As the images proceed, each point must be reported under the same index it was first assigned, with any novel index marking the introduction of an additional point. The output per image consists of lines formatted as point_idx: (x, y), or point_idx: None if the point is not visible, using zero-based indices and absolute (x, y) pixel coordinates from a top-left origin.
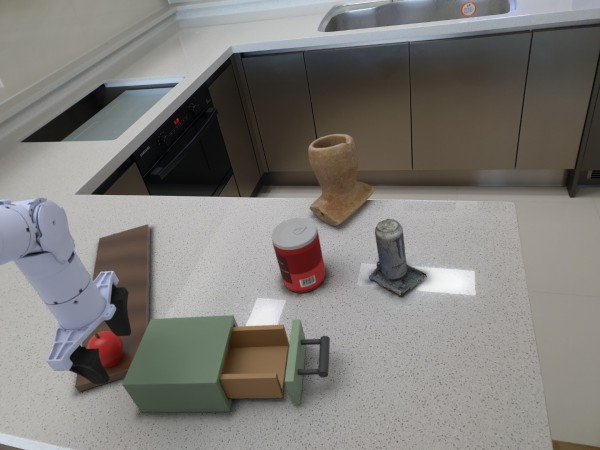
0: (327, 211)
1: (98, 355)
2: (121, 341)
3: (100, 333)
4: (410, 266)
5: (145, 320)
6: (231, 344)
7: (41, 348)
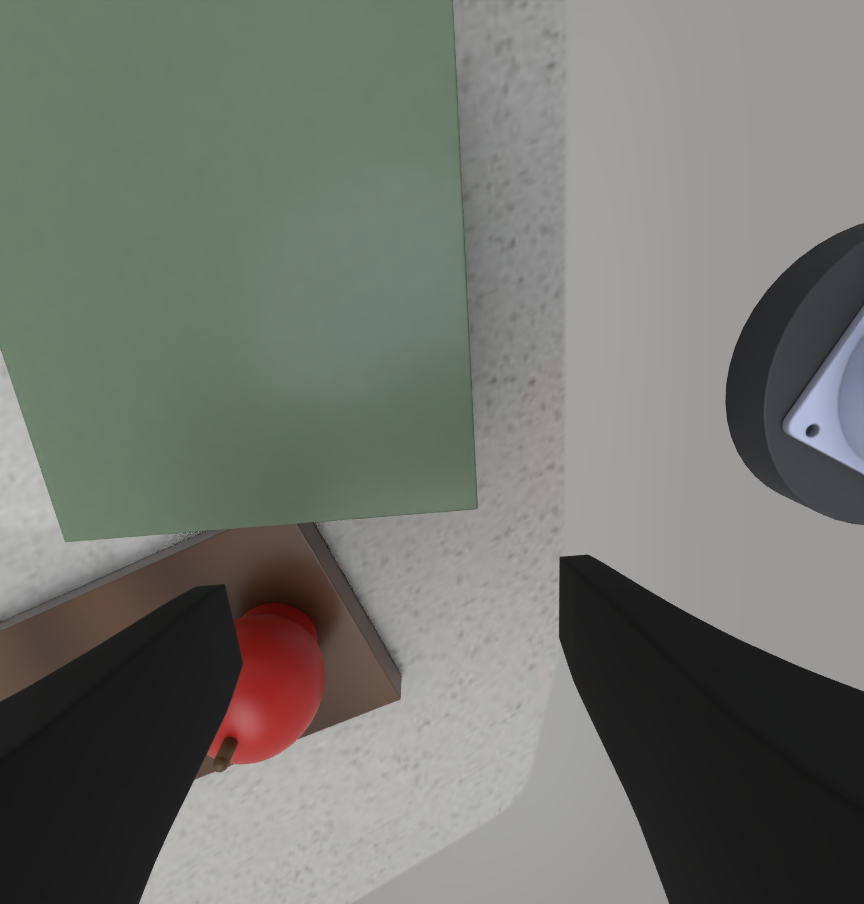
0: None
1: (802, 747)
2: None
3: None
4: None
5: (87, 593)
6: None
7: (269, 857)
